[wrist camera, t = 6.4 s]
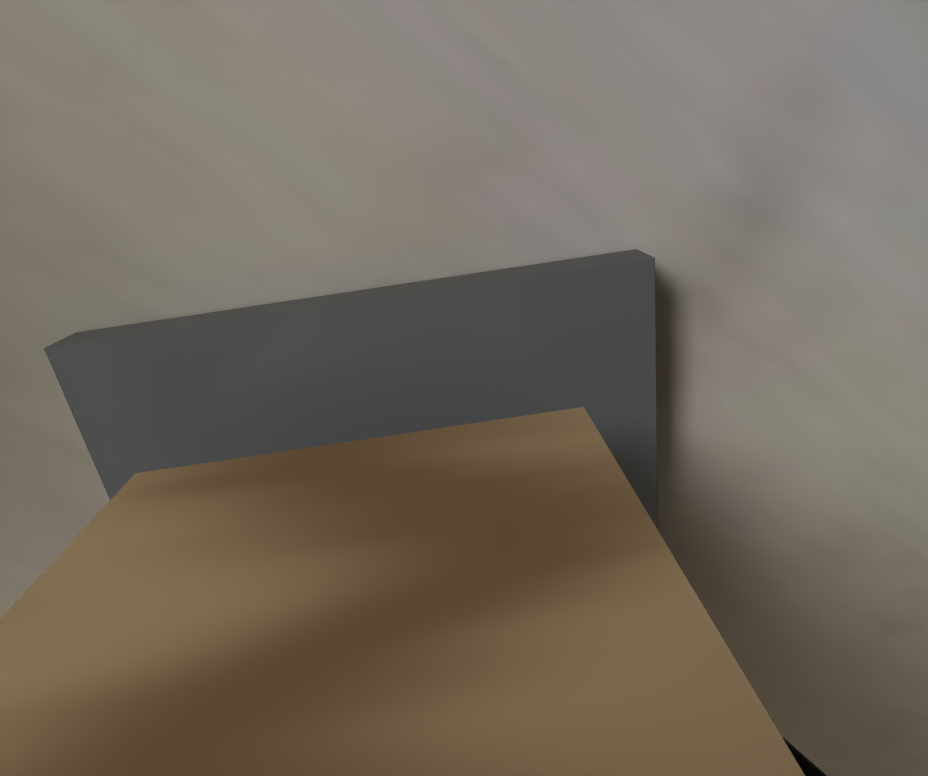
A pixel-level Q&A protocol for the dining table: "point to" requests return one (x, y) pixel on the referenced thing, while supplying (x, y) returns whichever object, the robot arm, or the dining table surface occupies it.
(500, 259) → the dining table surface
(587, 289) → the slate coaster
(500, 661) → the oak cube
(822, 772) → the robot arm
